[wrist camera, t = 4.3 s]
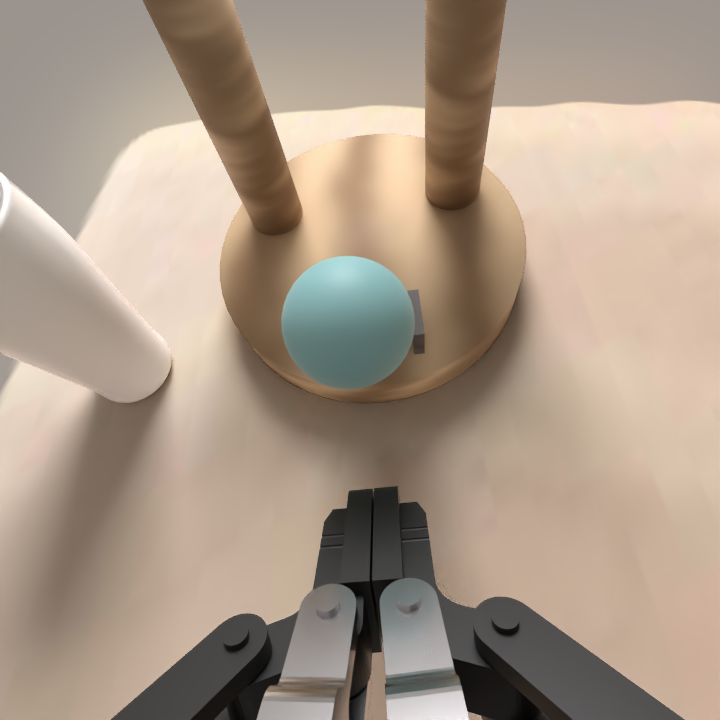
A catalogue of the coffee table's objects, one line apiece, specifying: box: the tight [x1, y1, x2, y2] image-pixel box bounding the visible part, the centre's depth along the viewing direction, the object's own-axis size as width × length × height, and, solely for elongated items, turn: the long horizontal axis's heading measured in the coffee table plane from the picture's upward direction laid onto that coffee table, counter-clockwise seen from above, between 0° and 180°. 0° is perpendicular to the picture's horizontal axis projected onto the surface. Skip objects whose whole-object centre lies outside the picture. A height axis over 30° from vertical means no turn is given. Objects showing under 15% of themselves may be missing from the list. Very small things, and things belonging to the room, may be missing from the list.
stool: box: [143, 0, 526, 403], centre depth 24 cm, size 20×20×20 cm
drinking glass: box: [0, 172, 172, 403], centre depth 25 cm, size 7×7×15 cm
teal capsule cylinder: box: [281, 256, 415, 390], centre depth 19 cm, size 4×4×17 cm
